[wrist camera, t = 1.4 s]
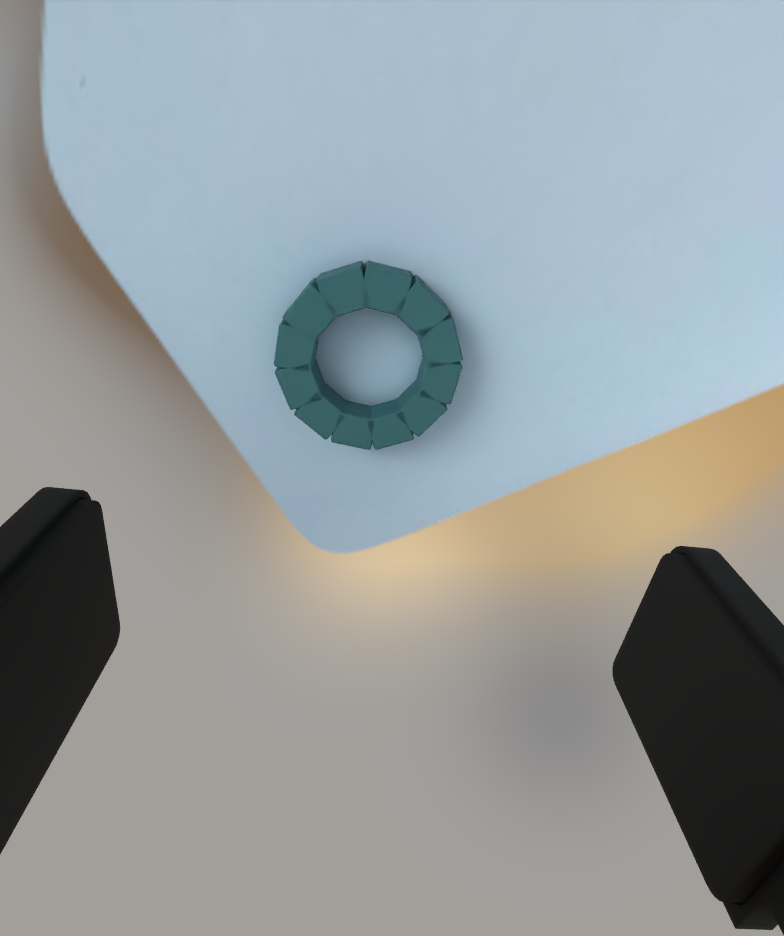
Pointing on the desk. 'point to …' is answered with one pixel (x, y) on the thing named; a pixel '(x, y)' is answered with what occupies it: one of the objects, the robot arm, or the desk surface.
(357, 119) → the desk surface
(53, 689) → the robot arm
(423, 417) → the teal segmented ring
